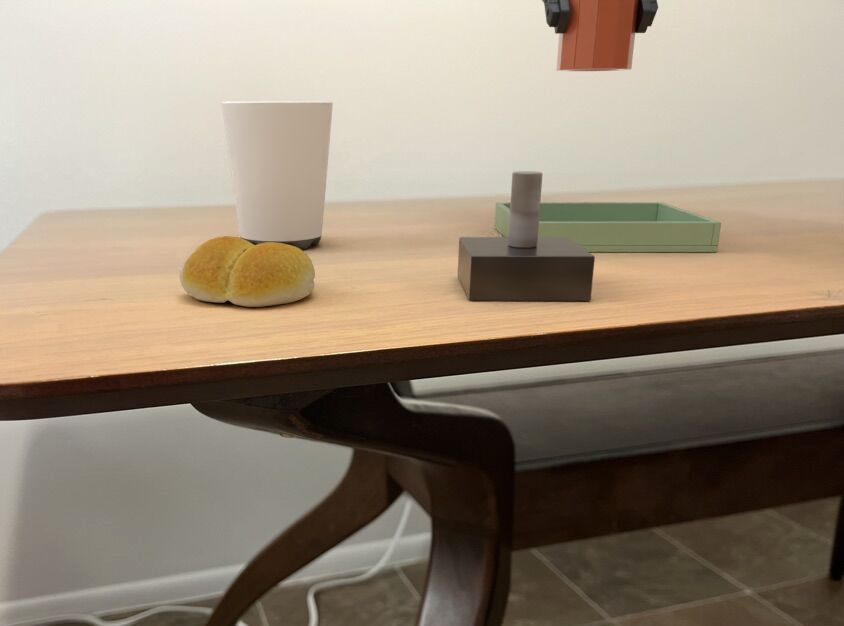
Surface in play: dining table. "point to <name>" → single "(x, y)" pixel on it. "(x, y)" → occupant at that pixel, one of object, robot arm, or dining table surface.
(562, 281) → the ring holder
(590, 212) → the tray
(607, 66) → the reddish-brown round cylinder
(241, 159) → the cup
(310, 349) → the dining table surface
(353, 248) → the dining table surface
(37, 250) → the dining table surface
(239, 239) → the bread roll
